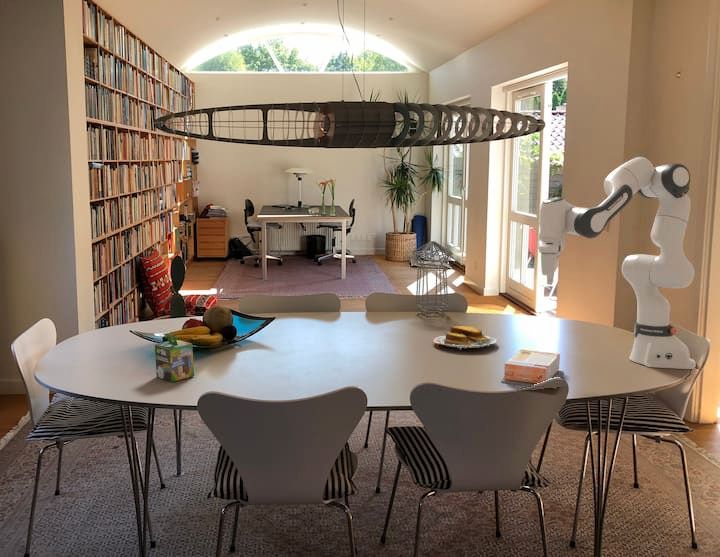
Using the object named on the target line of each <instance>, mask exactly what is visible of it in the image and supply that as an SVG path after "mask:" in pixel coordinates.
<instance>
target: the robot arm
mask: <svg viewBox="0 0 720 557" xmlns="http://www.w3.org/2000/svg"><path fill="white" fill-rule="evenodd" d="M690 173H691V172H690V170H689V168H687V166H686V165H684V164H681V163H676V162H675V163H674V162H673V163H669V164H663V165H662V164H661V165H659V166H656V167H654V165H653V163H652V162H651V160H649V159H648V158H646V157H643V156H637V157H634V158H632V159H630V160H628V161H626V162H624V163H622V164H621V165H619V166H618V167H616V168H615V169H613V171H612V172H610V173H609V174H608V175H607V176H606V177H605V178H604V182H603V189H604V193H605V194H606V196H607V198H605V199H604V200H603V201H602V202H601V203H600V204H599V205H598V206H594V207H582V206H581V207H580V206H576V205H574V204H571V203H569V202H567V201H566V200H565V199H564V197H560V196H556V197H549V198H546V199H544V200H543V201H542V203H541V206H540V209H539V217H538V222H539V223H538V225H539V233H538V244H537V245H538V248H537V249H538V251H539V253H540V264H541V267H540V268H541V273H542V275H543V276H546V284H547V285H553V283H554V276H555V272H556V270H557V269H558V267H559V265H560V260H559V259H560V255H561V253H562V251H564V250H565V248H566V247H565V243H566V234H571V235H575V236H580V237H584V238H586V239H595V238H597V237H598V236H600V235H601V234H602V233H603V231H604V230H605V228H606V227H607V225H608V223H609V222H611V220H612V219H613V218H614V217H615V216H617V214H619V213H620V212H621V211H622V210H623V209H624V208H625V207H626V206H627V205H628V204H629V202H631V200H632V198H633V195H635V194H636V193H637V195H639V196H640V197H642V198H645V199H656V198H658V209H657V211H656V215H655V217H654V221H653V224H652V228H651V231H650V240H651V242H652V243H653V245H655V246H656V247H658V248H660V253H659V255H654V254H644V253H640V254H629V255H628V256H626V257H625V258H624V260H623V261H622V264H621V274H622V276H623V278H624V279H625V280H626V281H627V282H628V283H629V284H630V286H631V287H632V289H633V291H634V294H635V297H636V301H637V302H636V303H637V306H636V307H637V308H636V309H637V310H636V312H637V313H636V321H635V323H634V334H633V335H634V342H633V345H632V349H631V353H630V355H629V360H630V361H632V362H634V363H637V364H641V365H643V366H645V367H648V368H658V369H659V368H661V369H678V370H679V369H680V370H694V369H695V368H696V367H697V365H696V364H697V363H696V361H695V359H693V358H691V357H690V354H691V353H690V350H689V348H688V346H687V345H686V344H685V343H684V342H683V341H682V340H681V339H679V337H677V336H676V335H675V334H677V332H678V331H677V329H676V327H675V326H674V325H673V324H670V318H671V317H670V316H671V304H670V301H669V300H668V299H667V298H666V297H664V296H663V295H662V294H661V292H660V291H659V288H658V287H660V288H665V289H666V288H667V289H684V288H688V287H689V286H690V285H691V284H692V282H693V280H694V279H695V278H694V277H695V268H694V266H693V264H692V262H690V261H689V260H688V259H687V257H686V254H685V253H684V239H685V234H686V230H687V227H688V226H687V225H688V223H689V220H690V219H689V218H690V215H691V214H690V212H691V203H692V201H691V198H690V196H689V195H688V194H687V193H688V192H689V190H690V184H691V174H690Z"/></svg>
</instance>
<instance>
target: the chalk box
mask: <svg viewBox="0 0 720 557" xmlns="http://www.w3.org/2000/svg"><path fill="white" fill-rule="evenodd" d="M166 337H167V341H164V342H160V343H155V345H154V352H155V354H154V355H155V368H156V369H155V370H156V372H155V373H156V378H158V379H161V380H163V381H167V382H169V383H174V382H178V381H181V380H186V379H189V378H193V377H195V369H194V353H193V351H194V349H193V343H192V342H187V341H185V340H180V339H179V340H178V339H177V338H176V335H174V334H171V333H166ZM172 339H173V340H172Z"/></svg>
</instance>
